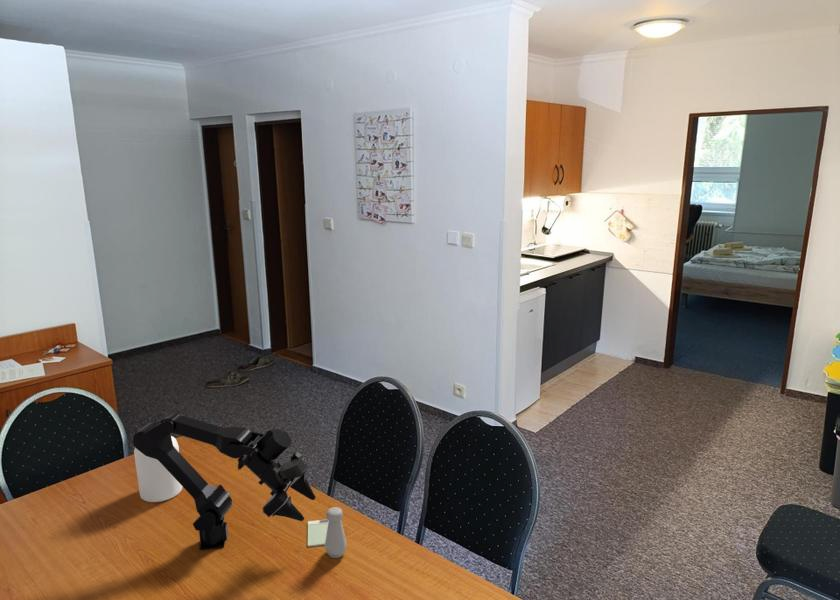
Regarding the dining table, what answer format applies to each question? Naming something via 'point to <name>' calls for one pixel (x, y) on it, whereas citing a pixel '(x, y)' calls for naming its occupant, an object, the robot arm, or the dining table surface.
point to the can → (155, 478)
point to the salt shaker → (335, 533)
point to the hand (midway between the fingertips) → (309, 509)
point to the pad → (317, 532)
